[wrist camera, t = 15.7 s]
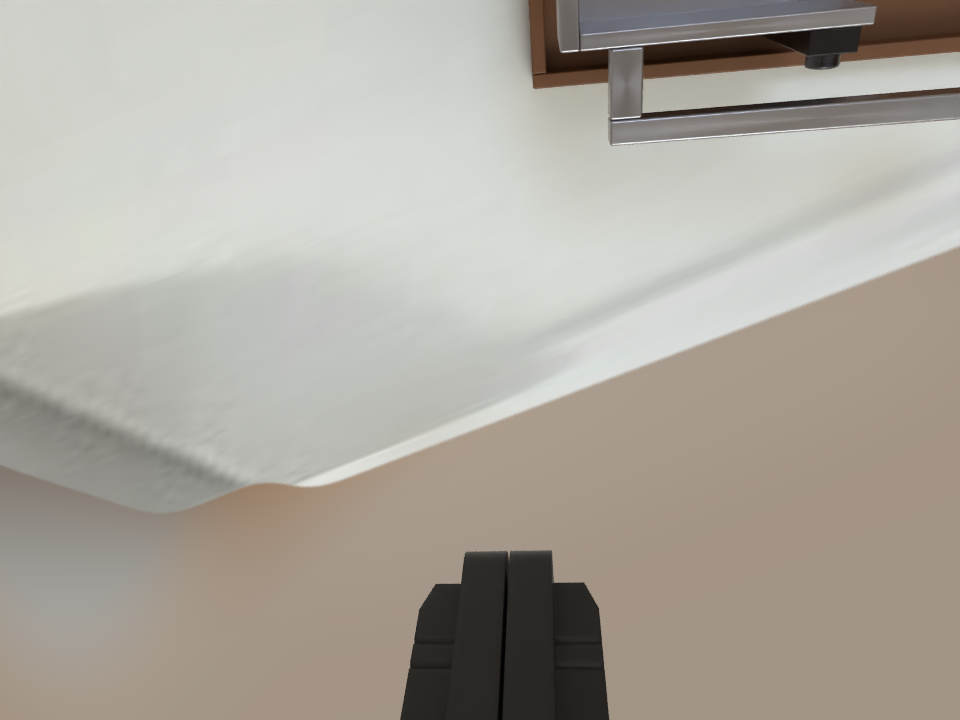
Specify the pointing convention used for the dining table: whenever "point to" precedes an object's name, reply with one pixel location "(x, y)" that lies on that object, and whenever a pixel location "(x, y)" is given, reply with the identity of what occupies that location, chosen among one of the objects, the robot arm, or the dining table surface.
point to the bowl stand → (821, 44)
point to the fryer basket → (714, 15)
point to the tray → (745, 45)
